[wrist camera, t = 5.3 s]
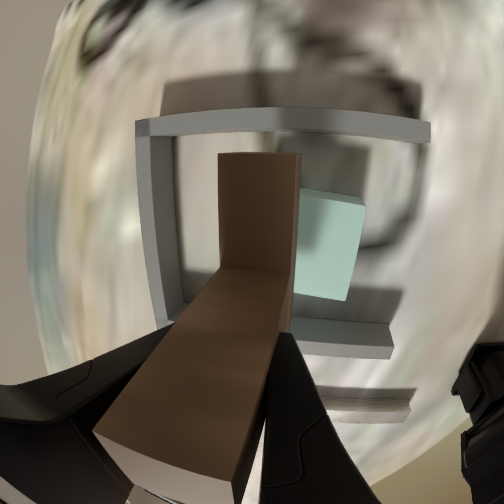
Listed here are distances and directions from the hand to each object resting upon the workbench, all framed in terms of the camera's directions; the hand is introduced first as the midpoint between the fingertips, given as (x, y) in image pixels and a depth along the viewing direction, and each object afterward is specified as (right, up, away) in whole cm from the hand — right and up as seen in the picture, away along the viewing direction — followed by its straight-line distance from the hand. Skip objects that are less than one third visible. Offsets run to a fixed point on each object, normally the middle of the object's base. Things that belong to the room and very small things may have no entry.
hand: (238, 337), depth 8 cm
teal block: (+4, +4, +11) cm, 13 cm away
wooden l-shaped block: (+1, +2, +5) cm, 5 cm away
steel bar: (+10, -12, +16) cm, 23 cm away
